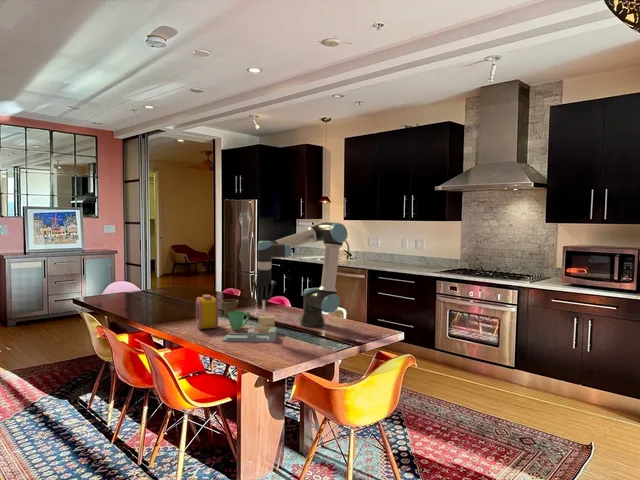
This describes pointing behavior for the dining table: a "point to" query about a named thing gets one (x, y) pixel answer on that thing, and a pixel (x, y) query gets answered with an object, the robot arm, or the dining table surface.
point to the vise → (256, 338)
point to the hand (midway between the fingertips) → (263, 311)
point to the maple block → (265, 324)
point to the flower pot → (229, 305)
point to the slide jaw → (250, 333)
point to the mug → (237, 319)
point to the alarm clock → (206, 312)
